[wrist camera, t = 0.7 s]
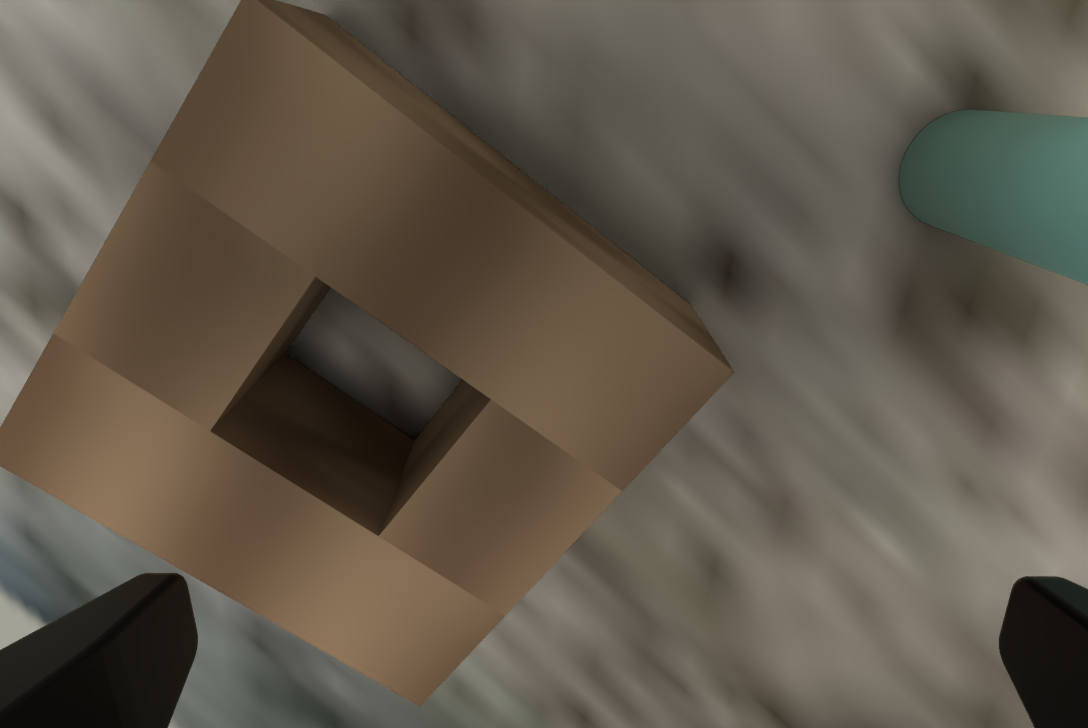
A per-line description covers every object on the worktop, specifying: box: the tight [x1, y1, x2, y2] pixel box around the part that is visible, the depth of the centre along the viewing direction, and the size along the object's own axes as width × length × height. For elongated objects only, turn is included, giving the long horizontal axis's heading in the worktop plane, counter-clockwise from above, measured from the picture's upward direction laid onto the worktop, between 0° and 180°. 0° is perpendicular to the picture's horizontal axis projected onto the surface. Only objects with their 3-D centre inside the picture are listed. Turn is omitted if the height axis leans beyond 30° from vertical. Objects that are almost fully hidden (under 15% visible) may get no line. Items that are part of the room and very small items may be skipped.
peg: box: [899, 110, 1088, 285], centre depth 15 cm, size 3×3×9 cm
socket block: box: [0, 0, 734, 706], centre depth 19 cm, size 12×12×5 cm
